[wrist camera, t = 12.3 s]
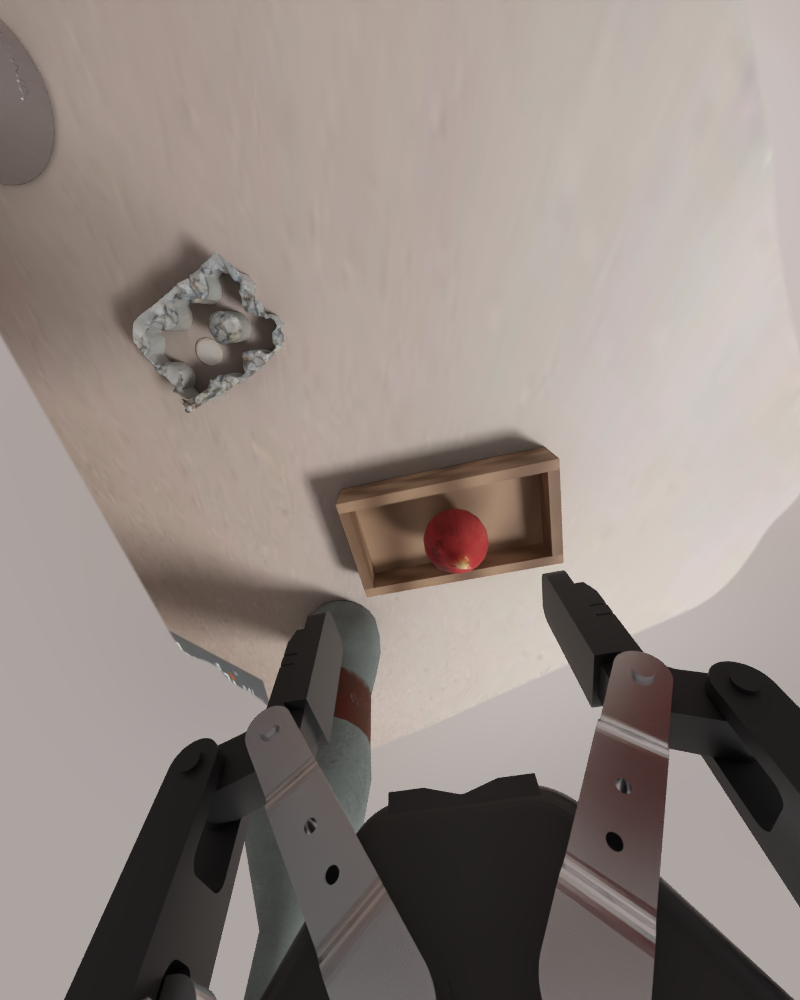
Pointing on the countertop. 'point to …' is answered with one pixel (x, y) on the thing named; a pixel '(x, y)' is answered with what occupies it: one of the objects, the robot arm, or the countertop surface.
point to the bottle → (346, 776)
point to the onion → (456, 541)
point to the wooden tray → (470, 486)
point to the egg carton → (222, 325)
